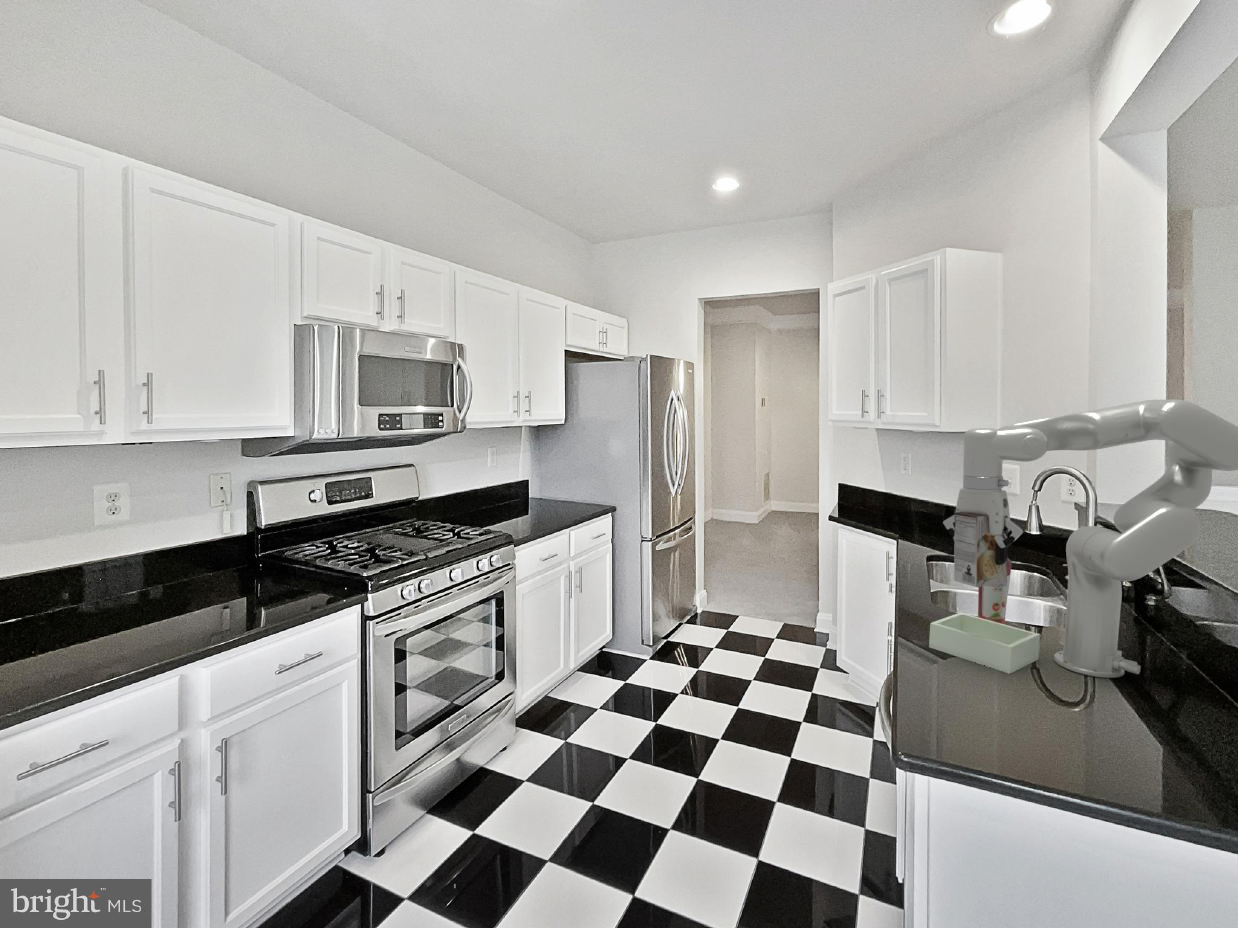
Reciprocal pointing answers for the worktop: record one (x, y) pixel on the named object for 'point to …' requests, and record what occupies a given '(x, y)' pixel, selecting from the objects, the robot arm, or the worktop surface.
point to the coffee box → (976, 552)
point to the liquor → (994, 599)
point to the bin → (985, 642)
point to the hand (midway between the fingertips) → (980, 560)
